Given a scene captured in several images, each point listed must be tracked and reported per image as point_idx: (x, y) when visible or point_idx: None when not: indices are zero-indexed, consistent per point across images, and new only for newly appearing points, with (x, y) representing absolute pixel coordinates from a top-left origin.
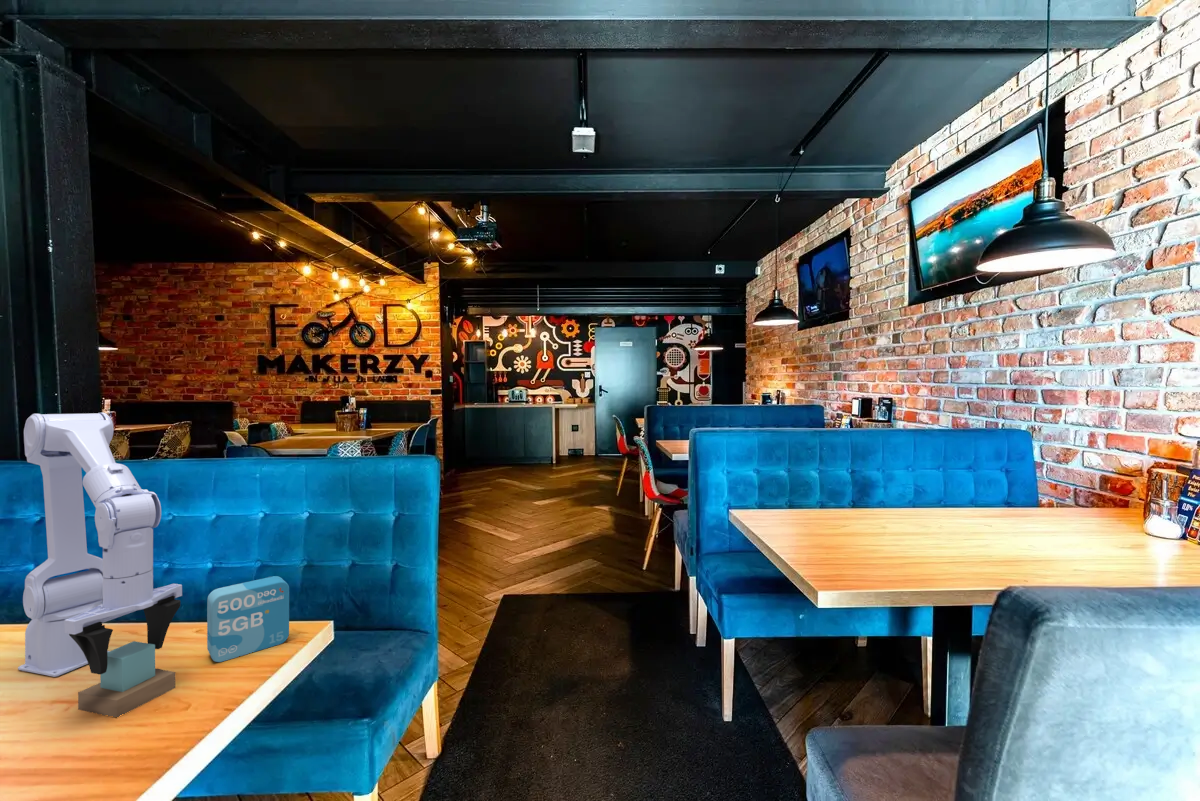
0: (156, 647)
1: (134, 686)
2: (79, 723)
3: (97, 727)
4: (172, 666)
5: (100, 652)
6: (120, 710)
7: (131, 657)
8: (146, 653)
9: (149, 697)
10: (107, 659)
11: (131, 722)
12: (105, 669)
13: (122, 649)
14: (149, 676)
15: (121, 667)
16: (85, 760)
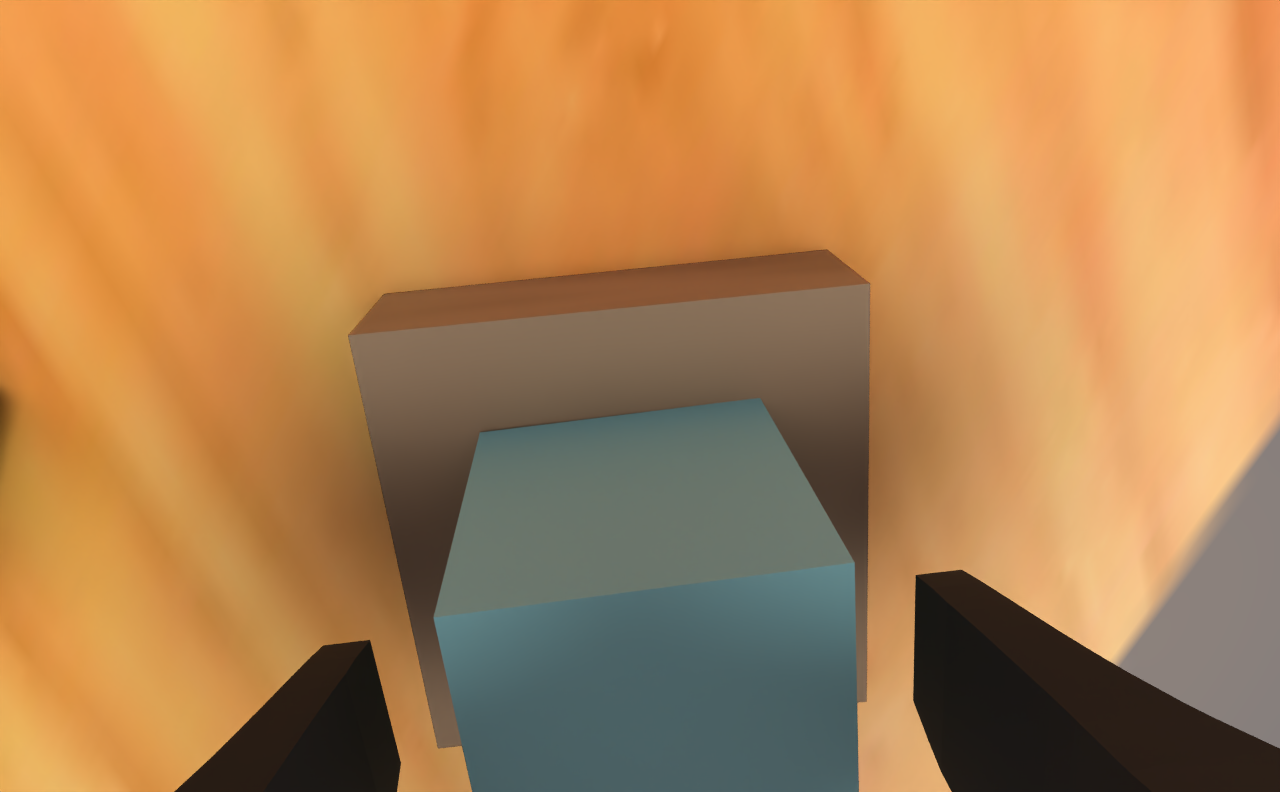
0: (369, 674)
1: (666, 401)
2: (940, 425)
3: (945, 246)
4: (225, 660)
5: (1182, 716)
6: (811, 262)
7: (734, 558)
8: (550, 562)
9: (590, 282)
10: (994, 640)
11: (833, 59)
12: (946, 584)
13: None
14: (532, 432)
15: (825, 513)
16: None
